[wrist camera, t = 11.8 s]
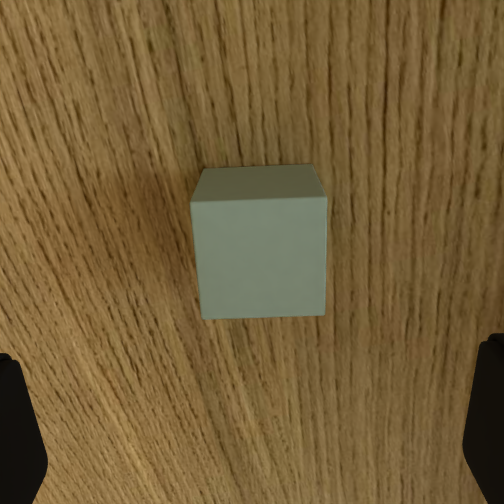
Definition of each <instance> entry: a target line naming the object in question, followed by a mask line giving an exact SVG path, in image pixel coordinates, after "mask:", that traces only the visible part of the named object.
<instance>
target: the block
mask: <svg viewBox="0 0 504 504" xmlns="http://www.w3.org/2000/svg"><path fill="white" fill-rule="evenodd" d="M190 214H191V224H192V233H193V243H194V252H195V262H196V272H197V281H198V291H199V300H200V310H201V318H202V319H203V320H206V319H235V318H263V317H292V316H320V315H325V302H326V246H327V196H326V194H325V192H324V189H323V187H322V185H321V183H320V180H319V178H318V176H317V174H316V171H315V169H314V167H313V164H296V165H273V166H251V167H228V168H205V169H203V171H202V174H201V176H200V179H199V181H198V184H197V186H196V189H195V191H194V194H193V196H192V198H191V201H190Z"/></svg>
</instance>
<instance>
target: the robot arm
mask: <svg viewBox="0 0 504 504" xmlns="http://www.w3.org/2000/svg"><path fill="white" fill-rule="evenodd" d="M462 445H463V453H464V457H465V459H466V462H467V464H468V466H469V468H470V470H471V472H472V474H473V476H474V477H475V479H476V481H477V483H478V485H479V487H480V489H481V491H482V493H483V495H484V497H485V499H486V501H487V503H488V504H504V333H494V334H491V335H490V336H489V337H488V340H487V341H483V342H481V344H480V346H479V350H478V356H477V361H476V367H475V373H474V379H473V384H472V390H471V396H470V401H469V407H468V413H467V418H466V424H465V430H464V436H463V443H462ZM47 467H48V457H47V453H46V450H45V446H44V443H43V440H42V436H41V433H40V430H39V426H38V423H37V420H36V416H35V413H34V410H33V406H32V403H31V399H30V396H29V393H28V389H27V386H26V383H25V379H24V376H23V373H22V369H21V366H20V364H19V362H18V361H17V360H12V358H11V356H10V355H9V354H6V353H0V504H32V503H33V501H34V499H35V496H36V494H37V492H38V490H39V488H40V486H41V484H42V482H43V479H44V477H45V475H46V472H47Z"/></svg>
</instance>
